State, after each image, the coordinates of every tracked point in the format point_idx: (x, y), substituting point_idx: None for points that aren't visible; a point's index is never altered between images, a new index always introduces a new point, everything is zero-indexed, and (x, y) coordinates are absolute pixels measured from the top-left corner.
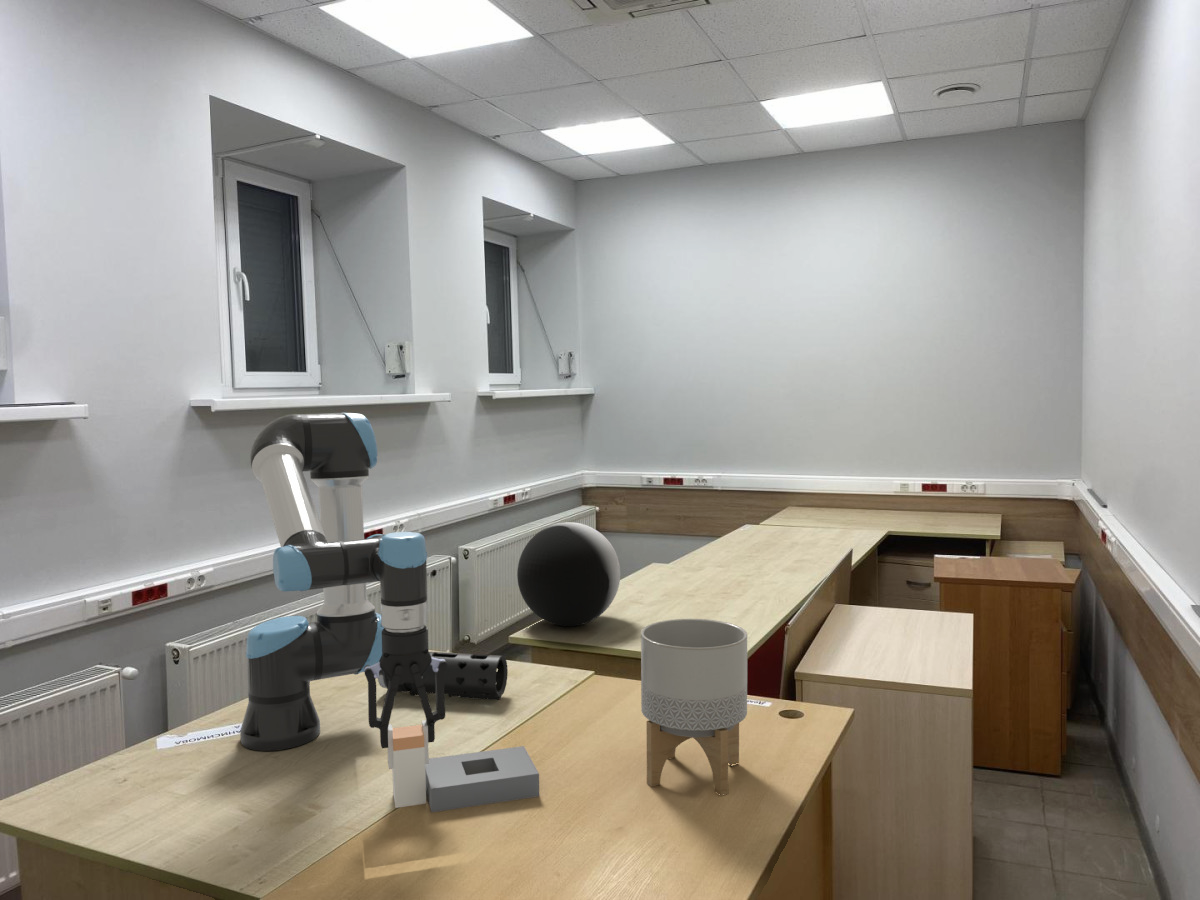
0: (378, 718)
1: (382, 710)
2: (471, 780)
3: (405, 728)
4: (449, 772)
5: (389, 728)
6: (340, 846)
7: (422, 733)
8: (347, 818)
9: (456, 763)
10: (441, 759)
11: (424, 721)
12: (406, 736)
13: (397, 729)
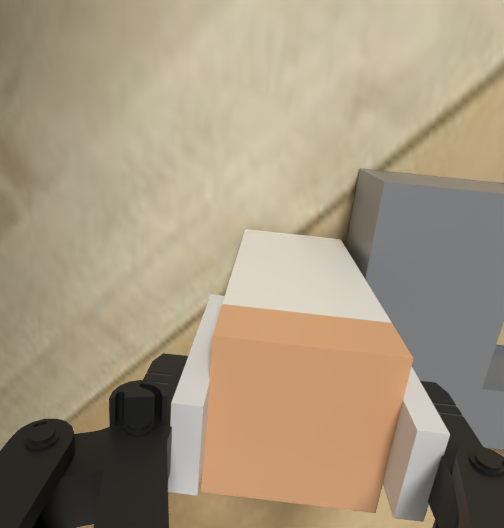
0: (84, 484)
1: (97, 512)
2: (480, 430)
3: (301, 374)
4: (437, 345)
5: (180, 466)
6: (90, 406)
7: (374, 491)
8: (107, 280)
9: (495, 280)
10: (455, 216)
11: (431, 448)
12: (278, 488)
13: (249, 369)
